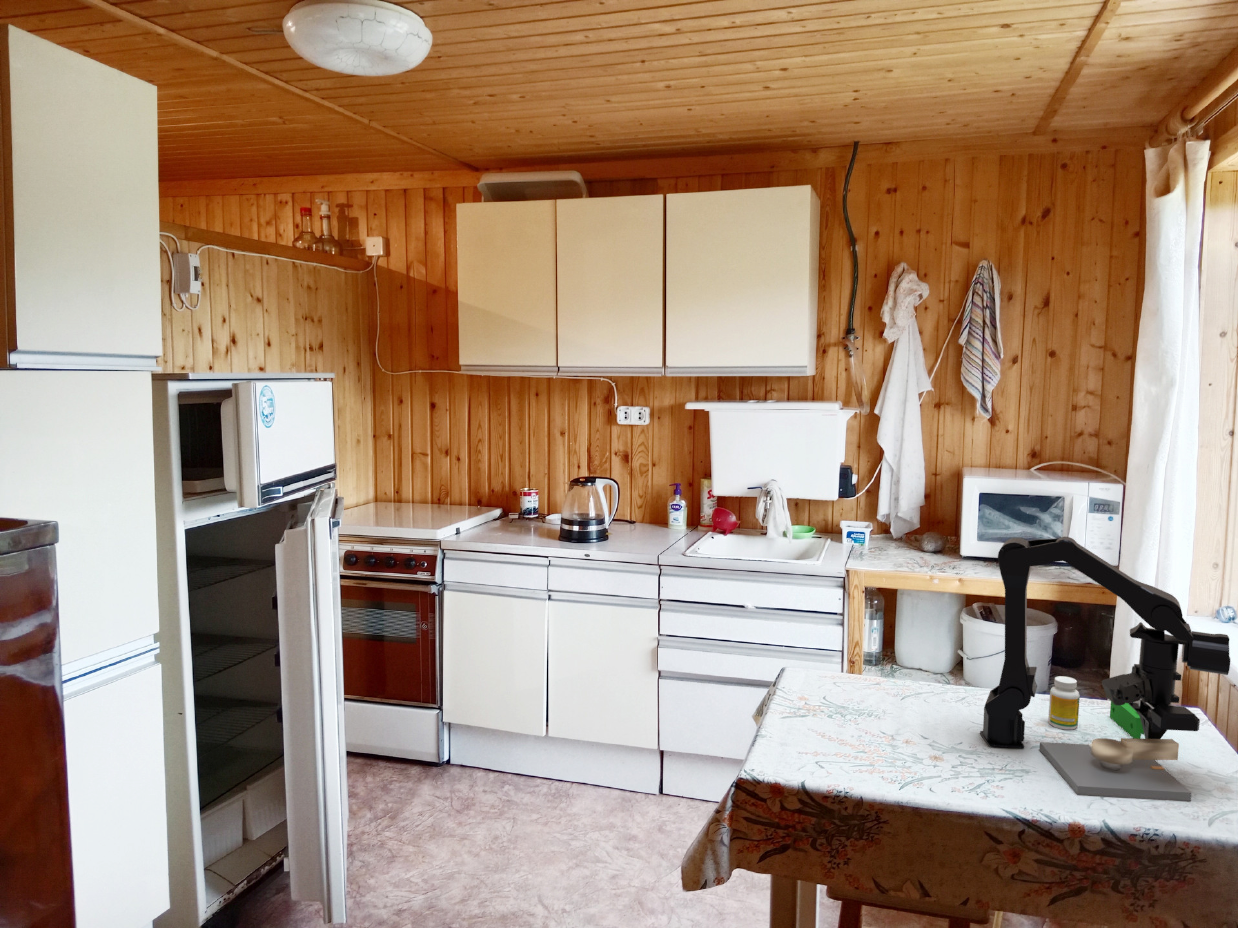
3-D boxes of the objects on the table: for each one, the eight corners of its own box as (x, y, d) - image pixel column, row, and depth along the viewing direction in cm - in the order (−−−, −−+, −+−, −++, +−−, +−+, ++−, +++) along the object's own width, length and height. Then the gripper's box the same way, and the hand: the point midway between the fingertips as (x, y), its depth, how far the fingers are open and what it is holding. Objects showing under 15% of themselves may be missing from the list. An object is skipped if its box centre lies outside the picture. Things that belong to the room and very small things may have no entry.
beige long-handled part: (1102, 763, 153) (1103, 747, 153) (1084, 748, 159) (1085, 732, 159) (1185, 765, 152) (1186, 748, 152) (1163, 749, 159) (1164, 733, 158)
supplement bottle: (1045, 718, 181) (1047, 673, 180) (1072, 720, 180) (1075, 675, 179) (1052, 729, 176) (1055, 682, 175) (1081, 731, 175) (1084, 684, 174)
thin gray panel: (1077, 794, 148) (1078, 777, 148) (1039, 749, 166) (1040, 734, 166) (1190, 800, 146) (1192, 783, 146) (1140, 754, 164) (1141, 739, 164)
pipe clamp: (1154, 741, 171) (1156, 718, 170) (1134, 740, 171) (1135, 717, 171) (1128, 718, 182) (1130, 697, 181) (1109, 717, 182) (1111, 696, 182)
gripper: (1088, 644, 166) (1082, 723, 168) (1134, 681, 148) (1127, 768, 149) (1150, 647, 165) (1143, 726, 167) (1205, 684, 146) (1196, 772, 148)
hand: (1150, 747), depth 158 cm, fingers closed
